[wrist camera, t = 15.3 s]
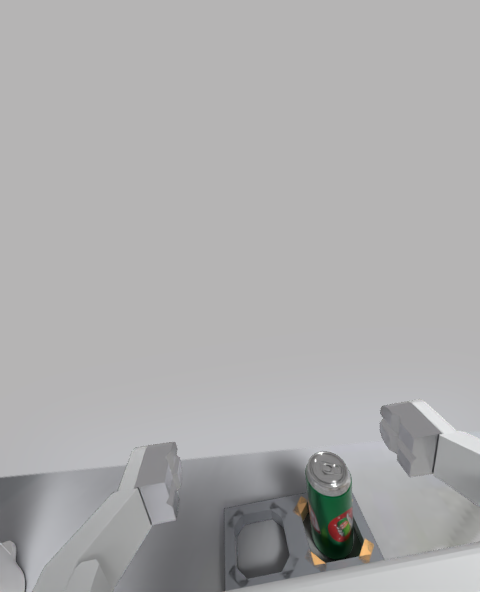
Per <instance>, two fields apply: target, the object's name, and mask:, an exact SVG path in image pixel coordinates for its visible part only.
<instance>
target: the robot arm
mask: <svg viewBox="0 0 480 592" xmlns="http://www.w3.org/2000/svg"><path fill="white" fill-rule="evenodd" d="M380 414H381V415H382V417H383V419H382V421H381V422H380V433H381V436H382V439H383V441H384V443H385V444H386V446H387V447H388V448H389V450H391V451H393V452H395V453H396V454H397V461H398V462H399V464H400V465H401V466H402V468H403V469H404V470H405V472H406V473H407V474H408V476H409V477H416V476H423V475H429V474H433V475H434V476H435V477H436V478H438V479H439V480H441V481H442V482H444V483H445V484H447V485H448V486H449V487H451V488H452V489H454V490H455V491H457V492H458V493H460V494H461V495H462V496H464V497H465V498H467V499H468V500H470V501H471V502H473V503H474V504H476V505H477V506H478V507H480V439H479V438H477V437H475V436H472V435H470V434H468V433H466V432H463V431H457V430H455V429H454V428H453V427H452V426H451V425H450V424H449V423H448V422H447V421H446V420H444V419H443V418H442V417H441V416H440V415H439V414H438V413H437V412H435V411H434V410H433V409H432V408H431V407H430V406H429V405H428V404H427V403H426V402H425V401H423V400H421V399H418V400H412V401H407V402H401V403H395V404H390V405H384V406H382V407H381V410H380ZM181 482H182V466H181V460H180V457H178V456H177V446H176V443H175V442H169V443H162V444H155V445H148V446H143V447H136V448H134V449H133V451H132V453H131V455H130V458H129V461H128V463H127V466H126V469H125V472H124V474H123V477H122V480H121V483H120V486H119V488H118V491H117V492H113V493H112V494H111V495H110V496H109V497H108V499H107V500H106V501H105V502H104V503H103V504H102V505H101V506H100V507H99V508H98V509H97V510H96V511H95V513H94V514H93V515H92V516H91V517H90V518H89V519H88V520H87V521H86V522H85V523H84V524H83V526H82V527H81V528H80V529H79V530H78V531H77V532H76V533H75V534H74V535H73V536H72V537H71V539H70V540H69V541H68V542H67V543H66V544H65V545H64V546H63V547H62V548H61V549H60V550H59V552H58V553H57V554H56V555H55V556H54V557H53V558H52V559H51V560H50V561H49V562H48V563H47V565H46V566H45V567H44V568H43V570H42V572H41V574H40V576H39V578H38V581H37V583H36V585H35V587H34V589H33V591H32V592H113V590H114V589H115V587H116V585H117V584H118V582H119V580H120V579H121V577H122V575H123V574H124V572H125V571H126V569H127V567H128V566H129V564H130V562H131V561H132V559H133V557H134V556H135V554H136V552H137V551H138V549H139V547H140V546H141V544H142V543H143V541H144V539H145V538H146V536H147V534H148V533H149V531H150V529H151V528H152V526H151V525H156V524H161V523H165V522H170V521H175V520H176V519H177V512H178V505H179V497H178V493H177V491H178V490H179V488H180V487H181ZM24 591H25V578H24V574H23V572H22V570H21V569H20V567H19V566H18V565H17V563H16V545H15V544H14V543H13V542H12V541H6V542H3V543H0V592H24ZM223 592H480V541H479V542H474V543H469V544H464V545H459V546H454V547H449V548H443V549H438V550H433V551H428V552H423V553H418V554H413V555H407V556H402V557H397V558H392V559H387V560H382V561H377V562H371V563H366V564H361V565H356V566H351V567H346V568H341V569H336V570H330V571H325V572H320V573H315V574H310V575H305V576H300V577H295V578H290V579H285V580H279V581H274V582H269V583H264V584H259V585H254V586H249V587H244V588H239V589H233V590H228V591H223Z"/></svg>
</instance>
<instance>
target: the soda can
mask: <svg viewBox="0 0 480 592" xmlns="http://www.w3.org/2000/svg"><path fill="white" fill-rule="evenodd" d="M305 475H306V485H307V494H308V504H309V513H310V523H311V533H312V538H313V541H314V543H315V545H316V546H317V548H318V549H319V550H320V551H321V552H322V553H323V554H324V555H326V556H327V557H329V558H332V559H342V558H345V557H346V556H348V555H349V554H350V552H351V550H352V548H353V542H354V540H353V506H352V478H351V474H350V472H349V470H348V468H347V467H346V464H345V463H344V461H343V460H342V459H341V458H340V457H339V456H337V455H336V454H334V453H331V452H326V451H322V452H318V453H315V454H314V455H313V456H312V457H311V458H310V460H309V462H308V464H307V466H306V470H305Z"/></svg>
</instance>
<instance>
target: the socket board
mask: <svg viewBox="0 0 480 592" xmlns="http://www.w3.org/2000/svg"><path fill="white" fill-rule="evenodd" d="M352 506H353V526H354V529H355V531H356V533H357V536H358V538H359V540H360V543H361V545H362V549H361V553H360V556H358V557H353V558H348V559H343V560H338V561H333V562H328V563H325V562H323V561H322V560H321V559H320V558H318V557H317V556H316V555H315V554H313V553H312V552H311V551H310V547H309V544H308V540H307V536H306V533H305V529H304V525H303V521H304V519H305V517H306V515H307V513H308V512H309V504H308V494H307V493H302V494H297V495H291V496H286V497H281V498H276V499H271V500H265V501H260V502H255V503H250V504H245V505H240V506H234V507H229V508H224V540H225V591H228V590H233V589H239V588H244V587H249V586H254V585H259V584H264V583H269V582H274V581H279V580H285V579H290V578H295V577H300V576H305V575H310V574H315V573H320V572H325V571H330V570H336V569H341V568H346V567H351V566H356V565H361V564H366V563H371V562H377V561H382V560H384V558H383V555H382V553H381V551H380V549H379V547H378V545H377V543H376V541H375V539H374V537H373V535H372V533H371V530H370V528H369V526H368V524H367V522H366V520H365V518H364V516H363V514H362V512H361V510H360V508H359V506H358V503H357V501H356V499H355V497H354V495H353V493H352ZM271 519H273V520H274V521H275V522H277V523H278V524H279V525H280V526H282V527H283V528H284V532H285V537H286V542H287V547H288V552H289V558H288V560H287V562H286V564H285V566H284V568H283V570H282V572H278V573H273V574H268V575H263V576H258V577H253V578H248V579H247V578H246V577H245V576H244V575H243V574H242V573H241V572H240V571H239V570H238V565H237V545H236V537H237V535H238V534H239V532H240V531H241V529H242V528H243V526H244V525H246V524H251V523H256V522H261V521H266V520H271Z"/></svg>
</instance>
